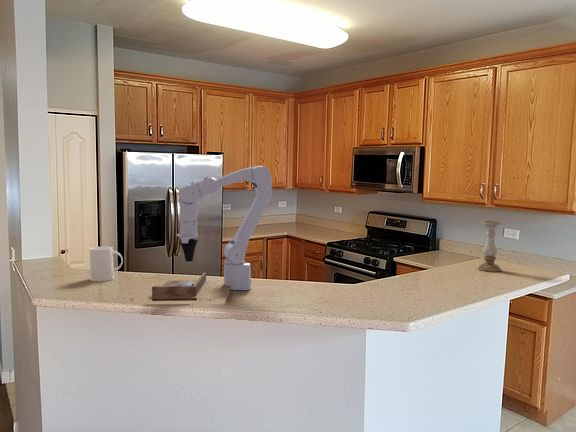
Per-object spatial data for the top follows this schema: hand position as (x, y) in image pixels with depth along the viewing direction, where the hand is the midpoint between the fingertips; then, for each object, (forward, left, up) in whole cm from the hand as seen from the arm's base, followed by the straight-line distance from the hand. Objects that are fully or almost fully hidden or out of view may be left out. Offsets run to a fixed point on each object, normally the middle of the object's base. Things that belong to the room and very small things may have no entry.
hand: (189, 261), depth 154 cm
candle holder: (-119, -31, -11) cm, 123 cm away
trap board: (+3, +1, -10) cm, 11 cm away
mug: (+35, -19, -11) cm, 41 cm away
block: (0, +8, -9) cm, 12 cm away
